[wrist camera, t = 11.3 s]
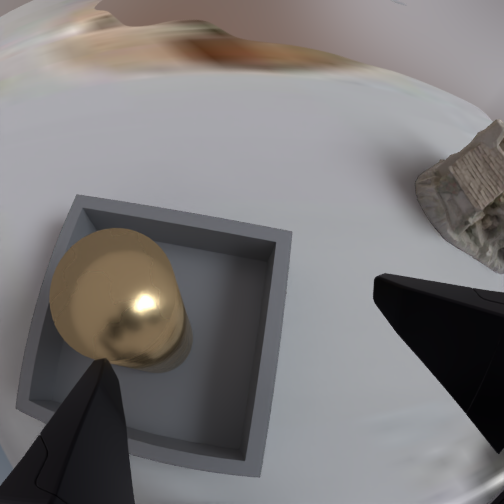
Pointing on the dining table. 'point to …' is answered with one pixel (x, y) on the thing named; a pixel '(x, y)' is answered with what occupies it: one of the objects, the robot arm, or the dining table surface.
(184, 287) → the charcoal bin
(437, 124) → the dining table surface
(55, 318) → the brass canister
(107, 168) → the dining table surface
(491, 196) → the ceramic cottage
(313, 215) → the dining table surface
